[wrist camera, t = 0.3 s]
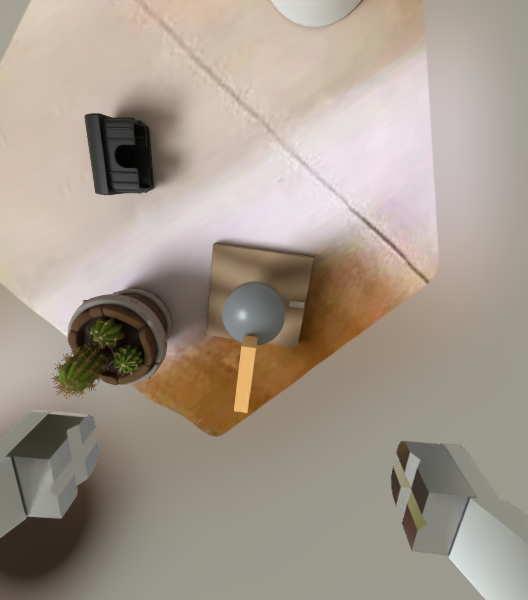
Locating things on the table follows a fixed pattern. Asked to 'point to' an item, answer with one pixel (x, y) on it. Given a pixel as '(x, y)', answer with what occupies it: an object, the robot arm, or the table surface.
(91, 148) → the black slotted holder
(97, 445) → the robot arm
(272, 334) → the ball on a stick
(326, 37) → the table surface
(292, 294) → the base plate
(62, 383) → the flowerpot
